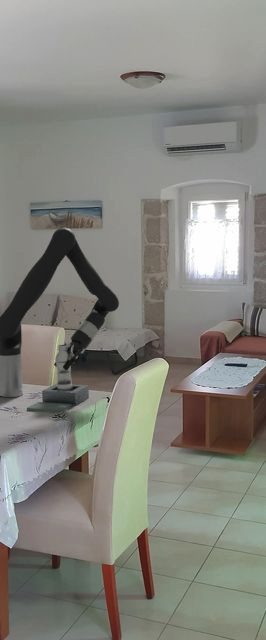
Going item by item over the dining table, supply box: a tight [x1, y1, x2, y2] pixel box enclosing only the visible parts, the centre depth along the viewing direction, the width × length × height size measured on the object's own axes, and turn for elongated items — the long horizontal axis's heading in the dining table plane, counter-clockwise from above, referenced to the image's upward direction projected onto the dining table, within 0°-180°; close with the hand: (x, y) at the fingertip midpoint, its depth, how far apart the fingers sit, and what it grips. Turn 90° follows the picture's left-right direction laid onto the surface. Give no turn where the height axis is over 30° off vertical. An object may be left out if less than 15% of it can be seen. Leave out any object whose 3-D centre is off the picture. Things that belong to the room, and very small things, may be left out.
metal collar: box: [41, 383, 90, 406], centre depth 256 cm, size 14×13×5 cm
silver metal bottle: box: [54, 344, 73, 391], centre depth 255 cm, size 6×7×20 cm
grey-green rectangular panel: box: [26, 401, 72, 414], centre depth 244 cm, size 14×9×1 cm, turn 71°
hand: (60, 367), depth 254 cm, fingers closed on silver metal bottle, 6 cm apart
